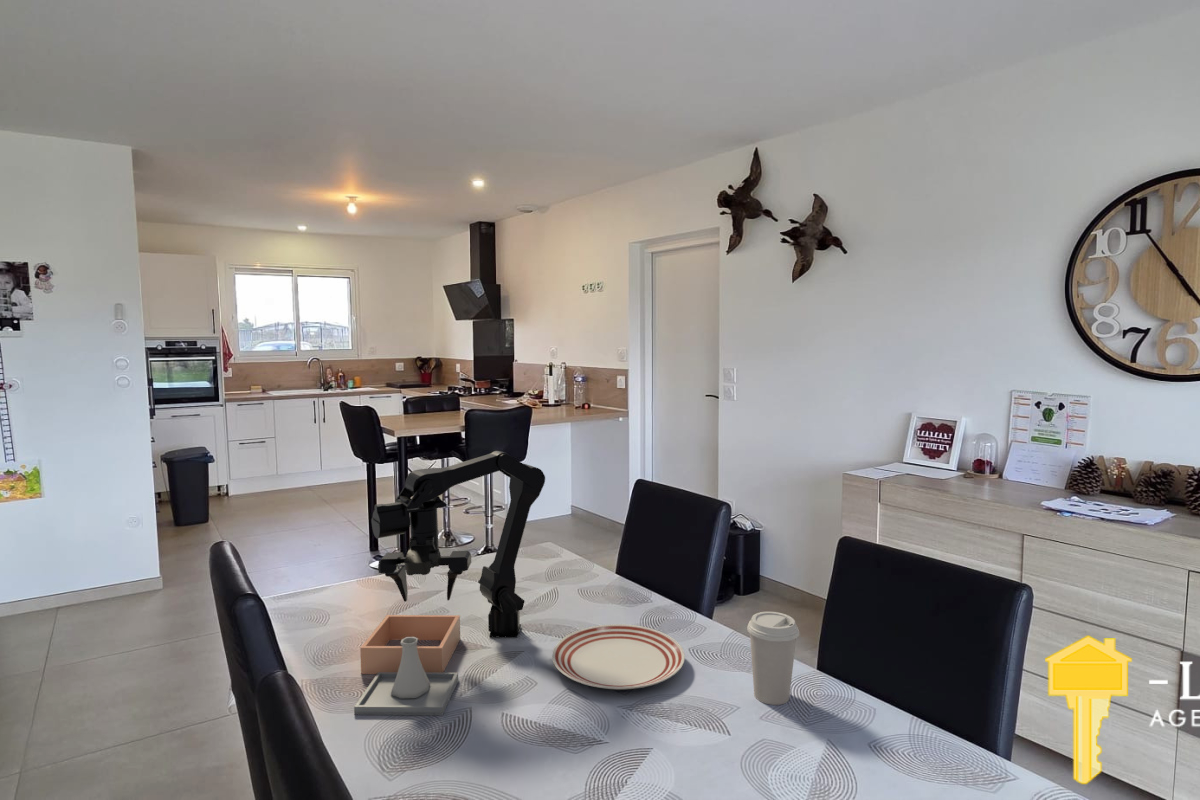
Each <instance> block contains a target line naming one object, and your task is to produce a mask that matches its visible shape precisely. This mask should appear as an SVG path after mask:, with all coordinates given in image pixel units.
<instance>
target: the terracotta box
mask: <svg viewBox="0 0 1200 800" xmlns="http://www.w3.org/2000/svg"><path fill="white" fill-rule="evenodd" d="M406 637H416V638H418V641H440V644H439V645H438V646H434V645H432V646H428V645H425V646H424V645H423V646H418V645H417V651H418V656H419V659H420V661H421V664H422V666H423V669H424V671H425V672H439V673H445V670H446V669H447V666H448V665H449V663H450V660H451V659H452V657H453V654H454V653H455V650H456V649H457V647H458V644H459V643H460V641H461V615H460V614H459V615H454V614H453V615H452V614H451V615H449V614H448V615H445V614H444V615H443V614H442V615H441V614H439V615H438V614H437V615H435V614H434V615H433V614H430V615H429V614H428V615H427V614H424V615H423V614H421V615H419V614H402V615H401V614H386V616H385V617H384V618H383V619H382V621H381V622H380V623H379V624H378V625H377V626H376V628H375V629H374V630H373V631H372V633H371V634H370V635H369V636H368V637H367V639H366V640H365V641H364V642H363V644H362V645H361V646H360V649H359V650H360V674H362V675H377V673H378V672H398V670H399V666H400V663H401V658H402V645H394V646H393V645H391V646H390V645H388V644H389V643H390V641H401V640H402V639H404V638H406Z"/></svg>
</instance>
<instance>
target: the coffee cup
mask: <svg viewBox="0 0 1200 800" xmlns="http://www.w3.org/2000/svg"><path fill="white" fill-rule="evenodd" d="M746 629H747V630H746V631H747V632H748V633H749V638H750V640H749V642H750V652H751V655H750V656H751V664H752V665H751V668H752V670H751V671H752V682H753V692H754V693H753V694H754V698H755V699H757V700H758V701H759V702H761V703H763V704H767V705H770V706H772V705H773V706H780V705H784V704H786V703H788V702H789V701H790V697H791V696H790V695H791V694H790V693H791V686H792V678H793V668H794V660H795V652H796V643H797V638H798V637H799V636H800V630H799V627H798V625H797V624H796V620H795V618H793V617H791V616H790V615H789V614H785V613H783V612H778V611H761V612H757V613H755V614H753V615H752V616H751V619H750V620H749V622H748V624H747V627H746Z"/></svg>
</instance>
